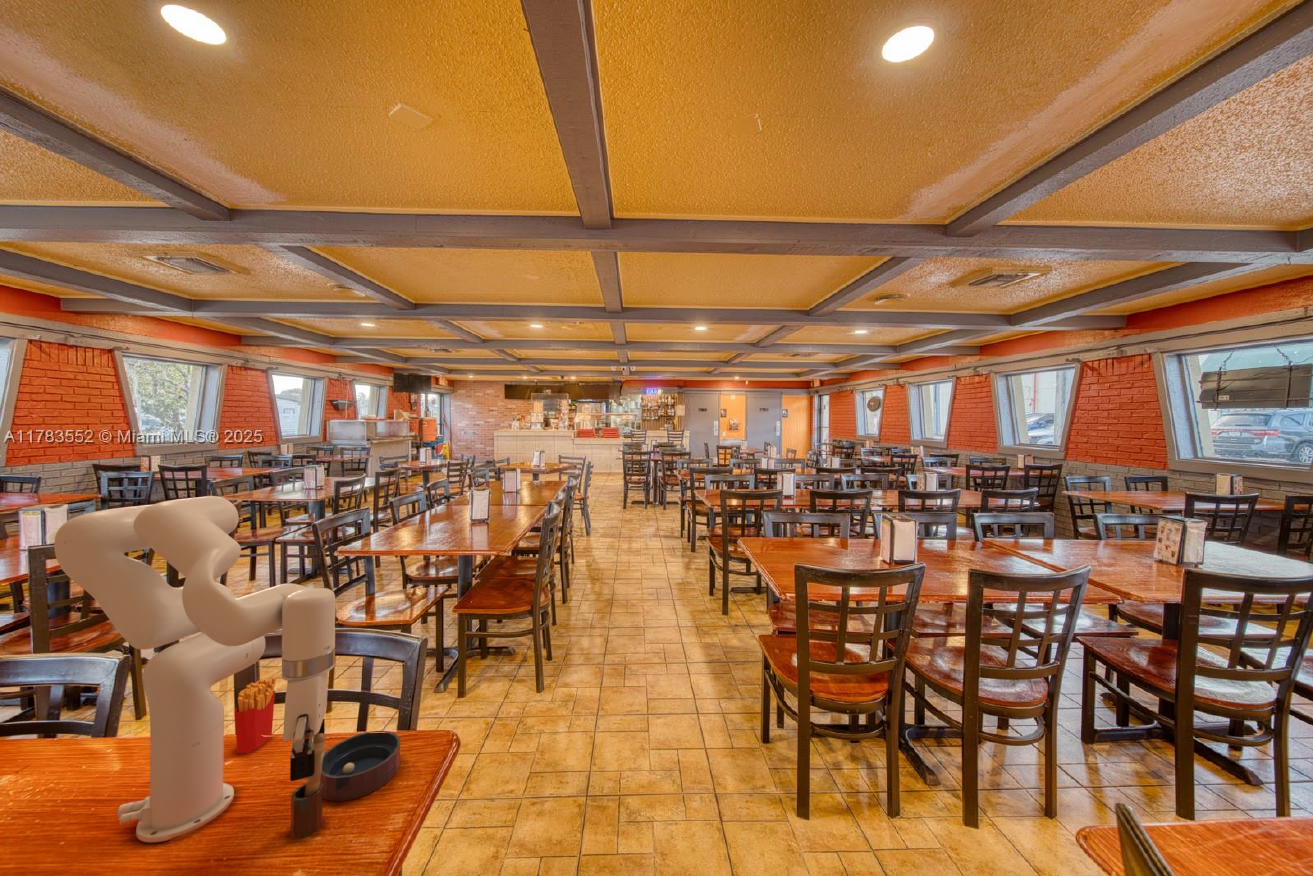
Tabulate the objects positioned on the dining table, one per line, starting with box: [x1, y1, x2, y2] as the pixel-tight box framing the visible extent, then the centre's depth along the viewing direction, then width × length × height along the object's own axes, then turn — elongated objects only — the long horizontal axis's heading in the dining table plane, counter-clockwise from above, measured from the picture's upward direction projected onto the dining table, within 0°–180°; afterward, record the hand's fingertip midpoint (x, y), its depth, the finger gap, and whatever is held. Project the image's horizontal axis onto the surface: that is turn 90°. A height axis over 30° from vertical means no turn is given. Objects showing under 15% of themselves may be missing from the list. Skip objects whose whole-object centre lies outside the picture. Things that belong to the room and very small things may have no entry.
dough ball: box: [343, 763, 354, 775], centre depth 95 cm, size 2×2×2 cm
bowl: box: [320, 730, 402, 802], centre depth 95 cm, size 14×14×5 cm
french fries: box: [233, 677, 277, 755], centre depth 105 cm, size 9×4×13 cm, turn 3°
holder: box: [290, 782, 324, 839], centre depth 82 cm, size 4×4×7 cm
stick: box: [304, 733, 327, 798], centre depth 82 cm, size 2×2×16 cm
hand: (308, 759), depth 82 cm, fingers open, 9 cm apart
